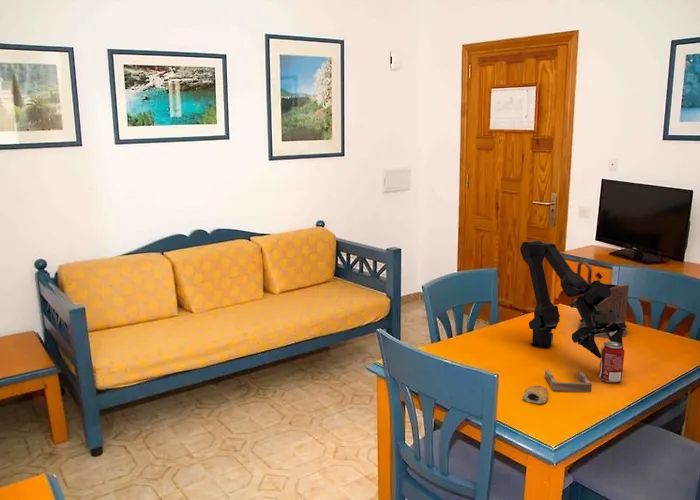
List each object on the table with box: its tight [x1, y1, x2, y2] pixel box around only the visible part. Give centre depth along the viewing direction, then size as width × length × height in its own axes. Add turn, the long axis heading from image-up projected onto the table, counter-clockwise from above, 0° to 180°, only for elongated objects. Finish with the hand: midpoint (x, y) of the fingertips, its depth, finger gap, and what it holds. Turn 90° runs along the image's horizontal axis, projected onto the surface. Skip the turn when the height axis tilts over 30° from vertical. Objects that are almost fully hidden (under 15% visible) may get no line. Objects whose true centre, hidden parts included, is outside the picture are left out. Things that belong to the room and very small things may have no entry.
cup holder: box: [576, 261, 630, 339], centre depth 242 cm, size 18×24×25 cm
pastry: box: [522, 384, 549, 405], centre depth 184 cm, size 9×7×4 cm
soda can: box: [598, 340, 625, 384], centre depth 195 cm, size 7×7×12 cm
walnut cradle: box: [544, 369, 593, 393], centre depth 193 cm, size 11×11×2 cm
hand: (611, 355), depth 195 cm, fingers open, 9 cm apart
